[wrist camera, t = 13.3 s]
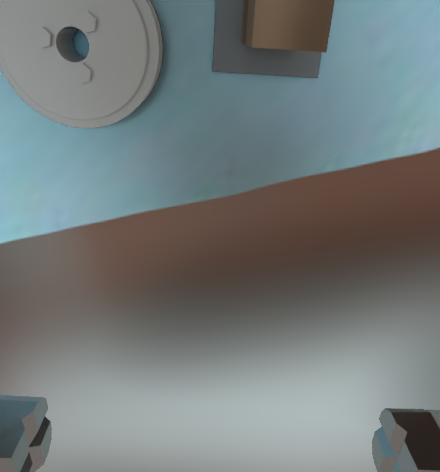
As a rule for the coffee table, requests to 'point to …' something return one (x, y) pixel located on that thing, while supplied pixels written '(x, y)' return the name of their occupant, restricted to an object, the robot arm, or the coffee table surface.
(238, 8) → the rubber pad
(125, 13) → the grey round disc
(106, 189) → the coffee table surface
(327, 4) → the walnut block
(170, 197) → the coffee table surface
